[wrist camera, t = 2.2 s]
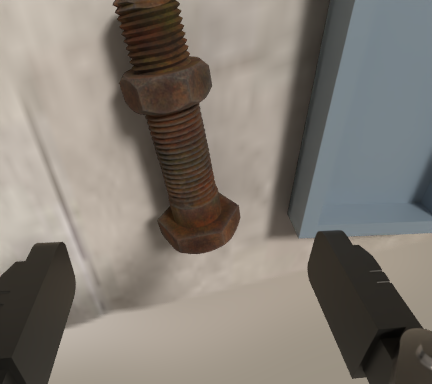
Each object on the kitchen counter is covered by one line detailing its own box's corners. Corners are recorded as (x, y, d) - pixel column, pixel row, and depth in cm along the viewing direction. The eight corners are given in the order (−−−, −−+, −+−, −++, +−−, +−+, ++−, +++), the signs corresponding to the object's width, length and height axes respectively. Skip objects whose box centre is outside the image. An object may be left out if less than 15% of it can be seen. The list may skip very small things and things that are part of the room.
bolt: (162, -14, 19) (208, 198, 27) (76, 3, 17) (154, 227, 25) (220, -26, 15) (254, 231, 23) (114, -6, 12) (193, 269, 21)
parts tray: (589, -130, 16) (664, -148, 14) (423, 209, 28) (448, 232, 25) (359, -150, 15) (395, -173, 13) (287, 213, 27) (298, 238, 24)
